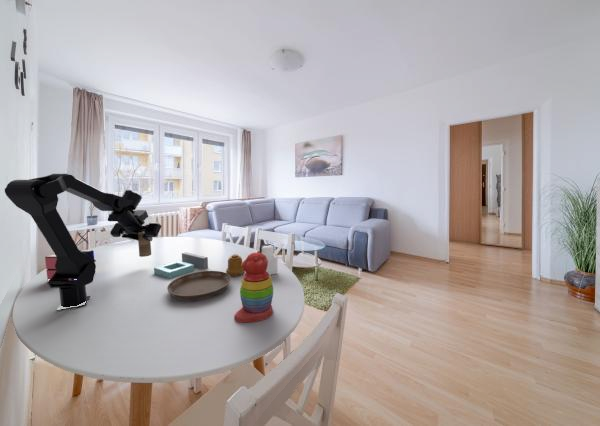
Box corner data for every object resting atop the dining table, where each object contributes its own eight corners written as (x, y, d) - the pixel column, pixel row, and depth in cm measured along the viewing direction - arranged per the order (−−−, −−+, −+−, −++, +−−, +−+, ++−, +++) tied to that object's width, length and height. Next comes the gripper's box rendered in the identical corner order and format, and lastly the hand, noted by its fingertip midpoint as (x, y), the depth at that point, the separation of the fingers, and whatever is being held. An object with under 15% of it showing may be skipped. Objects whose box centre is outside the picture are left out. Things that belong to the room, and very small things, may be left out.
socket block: (169, 278, 91) (169, 272, 90) (154, 273, 96) (153, 267, 96) (194, 270, 100) (194, 264, 100) (179, 265, 106) (178, 260, 105)
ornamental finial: (230, 269, 101) (247, 270, 100) (223, 276, 94) (240, 277, 93) (230, 252, 100) (246, 253, 99) (222, 257, 93) (239, 258, 92)
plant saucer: (210, 307, 70) (209, 297, 69) (152, 300, 74) (151, 290, 73) (240, 281, 90) (240, 272, 89) (194, 276, 94) (193, 269, 93)
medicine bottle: (256, 270, 100) (256, 244, 99) (272, 268, 103) (272, 242, 102) (261, 276, 94) (260, 247, 92) (277, 273, 97) (277, 246, 95)
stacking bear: (245, 302, 72) (244, 247, 70) (277, 304, 71) (276, 248, 69) (231, 322, 62) (229, 257, 60) (268, 324, 60) (267, 259, 59)
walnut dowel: (151, 255, 102) (149, 231, 101) (139, 257, 100) (137, 232, 99) (151, 253, 106) (149, 230, 105) (139, 254, 104) (137, 230, 103)
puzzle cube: (72, 282, 87) (69, 257, 86) (46, 282, 87) (43, 256, 86) (96, 273, 97) (94, 250, 96) (73, 272, 97) (70, 249, 96)
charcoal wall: (204, 269, 102) (203, 258, 101) (182, 263, 110) (181, 253, 109) (208, 267, 103) (207, 257, 103) (186, 262, 111) (185, 252, 111)
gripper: (157, 204, 97) (173, 225, 109) (113, 204, 97) (134, 225, 109) (146, 225, 90) (164, 246, 102) (98, 225, 90) (122, 246, 102)
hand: (146, 240), depth 104 cm, fingers closed on walnut dowel, 4 cm apart
